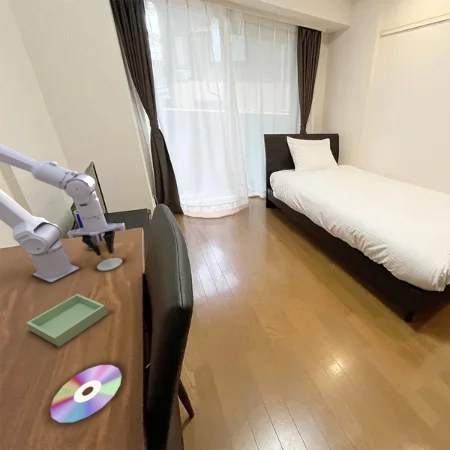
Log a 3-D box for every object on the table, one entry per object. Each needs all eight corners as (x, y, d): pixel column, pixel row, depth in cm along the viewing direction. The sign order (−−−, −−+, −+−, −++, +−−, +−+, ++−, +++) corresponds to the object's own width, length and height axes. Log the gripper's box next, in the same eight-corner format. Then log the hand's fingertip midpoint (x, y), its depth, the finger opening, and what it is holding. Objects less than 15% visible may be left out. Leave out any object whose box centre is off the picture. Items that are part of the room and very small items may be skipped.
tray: (31, 331, 65) (26, 322, 64) (81, 301, 74) (77, 293, 73) (59, 347, 61) (54, 338, 60) (108, 313, 70) (104, 305, 69)
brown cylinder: (99, 258, 88) (94, 243, 85) (109, 254, 90) (103, 239, 88) (106, 260, 87) (100, 245, 84) (115, 256, 89) (109, 241, 87)
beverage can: (96, 251, 97) (81, 213, 91) (84, 249, 98) (69, 211, 91) (108, 244, 102) (94, 207, 95) (96, 243, 103) (82, 206, 96)
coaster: (92, 267, 88) (91, 266, 88) (113, 257, 94) (112, 256, 94) (106, 273, 86) (106, 271, 85) (127, 261, 91) (126, 260, 91)
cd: (106, 355, 59) (106, 355, 59) (132, 383, 53) (132, 383, 53) (40, 399, 51) (40, 398, 51) (63, 437, 45) (63, 437, 45)
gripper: (57, 224, 76) (74, 264, 82) (116, 216, 81) (129, 254, 87) (66, 214, 82) (82, 252, 88) (121, 207, 87) (132, 244, 93)
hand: (105, 253), depth 88 cm, fingers closed on brown cylinder, 3 cm apart
